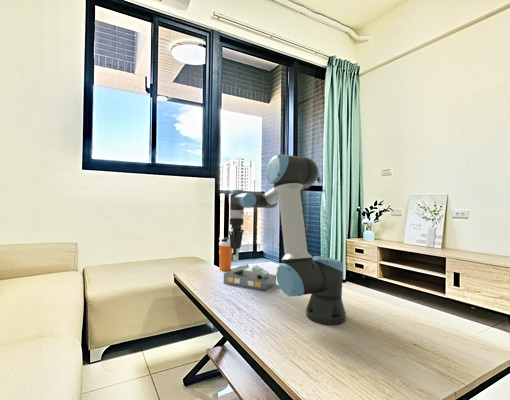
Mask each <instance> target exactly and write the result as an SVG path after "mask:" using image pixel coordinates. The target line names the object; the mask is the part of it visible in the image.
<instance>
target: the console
mask: <svg viewBox="0 0 510 400" xmlns="http://www.w3.org/2000/svg"><path fill="white" fill-rule="evenodd" d="M223 284H227V285H233V286H236V287H243V288H248V289H252V290H257V291H263V292H267V291H268V290H270V289H271V288H273V287H275V286H276V284H277V277H276V274H272V273H269V274H268V276H267V277H265V278H264V277H262V276H260V275H259V274H257V273H255V272H253V271H252V270H247V269H244V270H241V271H237V272H233V271H232V270H229V271H226V272H225V273H223Z"/></svg>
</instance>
